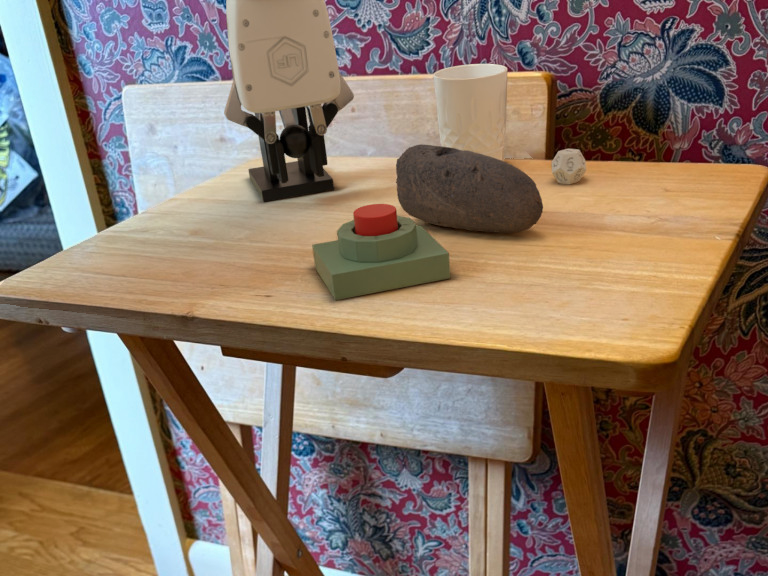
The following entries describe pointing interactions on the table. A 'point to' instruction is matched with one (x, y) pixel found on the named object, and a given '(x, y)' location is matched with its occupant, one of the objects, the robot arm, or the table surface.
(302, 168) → the bracket
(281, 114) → the lever
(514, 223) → the perforated stone tool
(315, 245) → the button block
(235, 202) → the table surface
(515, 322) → the table surface
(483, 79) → the white cup
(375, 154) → the table surface
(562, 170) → the game die
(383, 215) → the button
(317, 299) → the table surface
